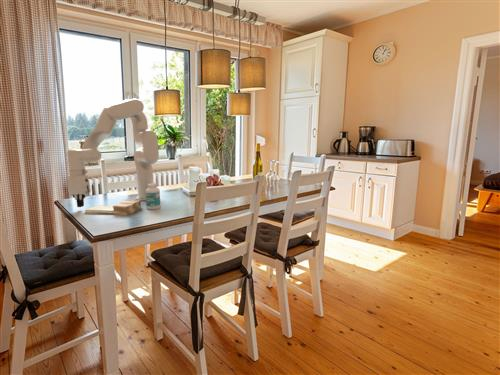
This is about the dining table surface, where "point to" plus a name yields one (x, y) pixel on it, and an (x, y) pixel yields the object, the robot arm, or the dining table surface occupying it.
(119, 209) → the overhang cubby
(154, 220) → the dining table surface
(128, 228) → the dining table surface
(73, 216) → the dining table surface
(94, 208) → the cover
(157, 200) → the pill bottle
